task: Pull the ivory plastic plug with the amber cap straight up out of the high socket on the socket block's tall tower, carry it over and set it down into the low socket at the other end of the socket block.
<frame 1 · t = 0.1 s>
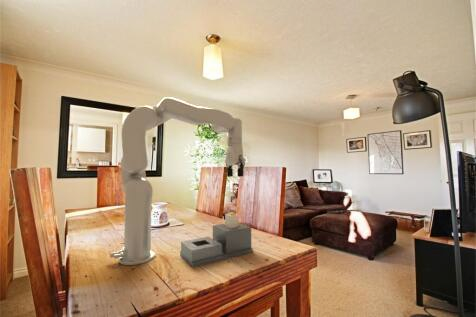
hand: (235, 176, 111), 31 cm above the table, fingers open, 9 cm apart
plug: (231, 235, 93), point 6 cm above the table, touching socket block
socket block: (217, 253, 89), on the table
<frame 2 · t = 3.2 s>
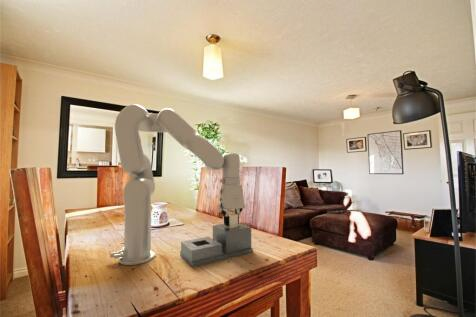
hand: (231, 224, 94), 11 cm above the table, fingers closed on plug, 4 cm apart
plug: (231, 235, 93), point 6 cm above the table, touching socket block, gripper
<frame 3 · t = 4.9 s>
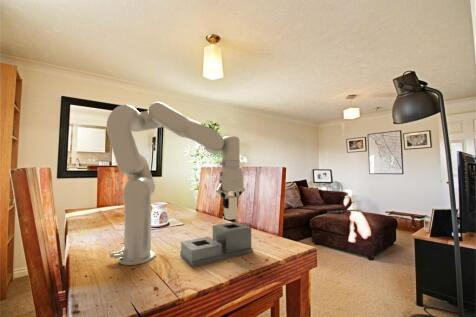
hand: (230, 207, 94), 18 cm above the table, fingers closed on plug, 4 cm apart
plug: (230, 218, 94), point 13 cm above the table, touching gripper
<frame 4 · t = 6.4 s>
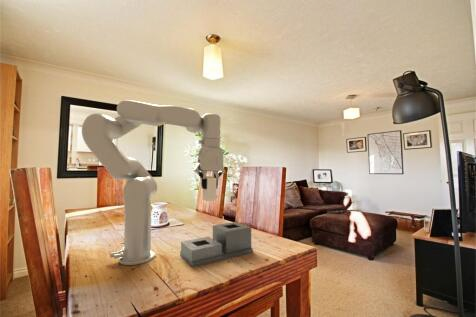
hand: (209, 188, 89), 27 cm above the table, fingers closed on plug, 4 cm apart
plug: (209, 200, 89), point 22 cm above the table, touching gripper
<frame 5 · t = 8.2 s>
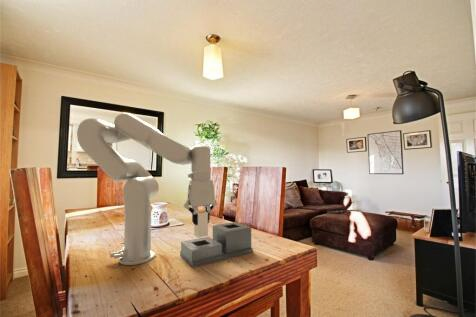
hand: (201, 222, 86), 13 cm above the table, fingers closed on plug, 4 cm apart
plug: (201, 235, 86), point 8 cm above the table, touching gripper
when the fingers open (7 cm above the table, at t = 9.8 s): plug stays where it is, resting on socket block.
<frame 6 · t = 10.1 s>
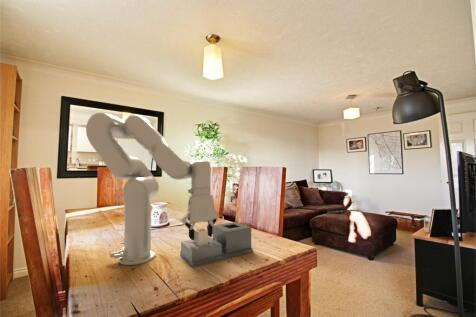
hand: (200, 237, 86), 8 cm above the table, fingers open, 6 cm apart
plug: (200, 253, 86), point 1 cm above the table, touching socket block
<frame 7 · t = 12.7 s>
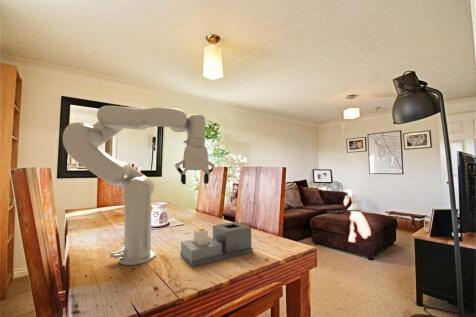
hand: (195, 183, 93), 28 cm above the table, fingers open, 9 cm apart
nothing on the table moved.
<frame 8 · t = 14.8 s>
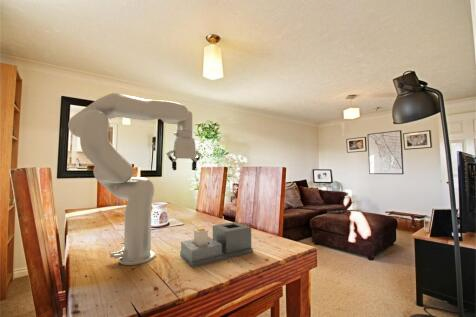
hand: (184, 170, 108), 34 cm above the table, fingers open, 9 cm apart
nothing on the table moved.
at the end: plug 0.1 cm from the target spot on the socket block, point 1.5 cm above the socket block's base; plug tilted 0°; the gripper is holding nothing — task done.
